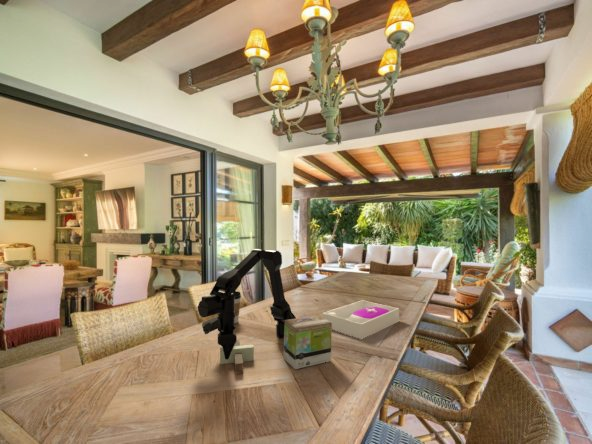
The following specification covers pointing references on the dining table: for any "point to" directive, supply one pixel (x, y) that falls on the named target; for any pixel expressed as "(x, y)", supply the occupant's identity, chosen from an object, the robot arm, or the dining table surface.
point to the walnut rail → (238, 361)
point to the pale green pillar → (245, 350)
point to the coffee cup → (237, 307)
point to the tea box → (307, 341)
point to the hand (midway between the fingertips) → (226, 353)
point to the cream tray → (362, 318)
